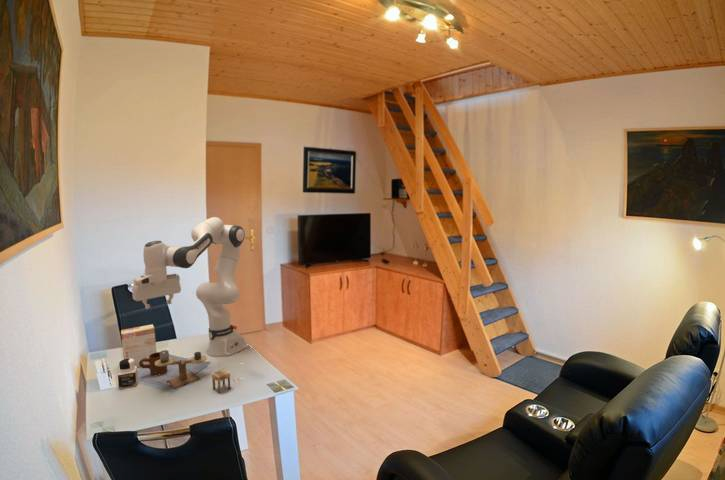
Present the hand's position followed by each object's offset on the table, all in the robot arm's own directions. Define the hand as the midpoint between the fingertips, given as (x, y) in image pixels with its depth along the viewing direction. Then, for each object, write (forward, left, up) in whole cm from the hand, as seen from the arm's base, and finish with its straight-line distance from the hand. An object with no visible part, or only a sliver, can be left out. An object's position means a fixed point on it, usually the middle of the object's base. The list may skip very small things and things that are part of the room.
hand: (158, 306), depth 184 cm
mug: (0, -13, -37) cm, 40 cm away
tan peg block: (-14, +27, -37) cm, 48 cm away
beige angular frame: (-27, +21, -38) cm, 51 cm away
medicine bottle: (+12, -11, -37) cm, 41 cm away
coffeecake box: (0, -30, -37) cm, 48 cm away
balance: (-6, +6, -37) cm, 38 cm away
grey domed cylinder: (+2, +6, -24) cm, 25 cm away
